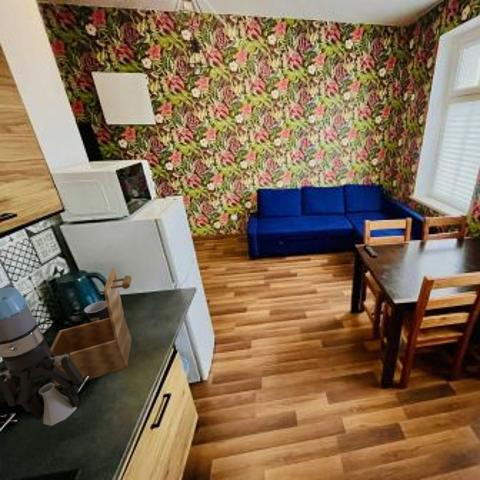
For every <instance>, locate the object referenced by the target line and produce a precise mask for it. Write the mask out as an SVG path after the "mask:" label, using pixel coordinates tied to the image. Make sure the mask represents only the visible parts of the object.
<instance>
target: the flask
mask: <svg viewBox="0 0 480 480" xmlns="http://www.w3.org/2000/svg"><path fill="white" fill-rule="evenodd" d="M38 394H39V395H41V396H42V398H43V403H44V404H43V409H44V413H43V417H42V418H43V420H42V423H43V425H47V426H50V427H52V426H54V425H56V424H58V423H60V422H62V421H65V420H66V419H67V418H68V417H70V416H71V415H72V414H73V413H74V412H75V411H76V410H77V406H76V407H74V408H73V407H72V405H71V403H70V401H69V400H68V398H67V396H66V395H64V394H62V393H60V392H59V390H58V389H57V388H56V385H55V383H54V382H49V383H47V384H45V385H43V386H42V387H41V388H39V389H38Z"/></svg>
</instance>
